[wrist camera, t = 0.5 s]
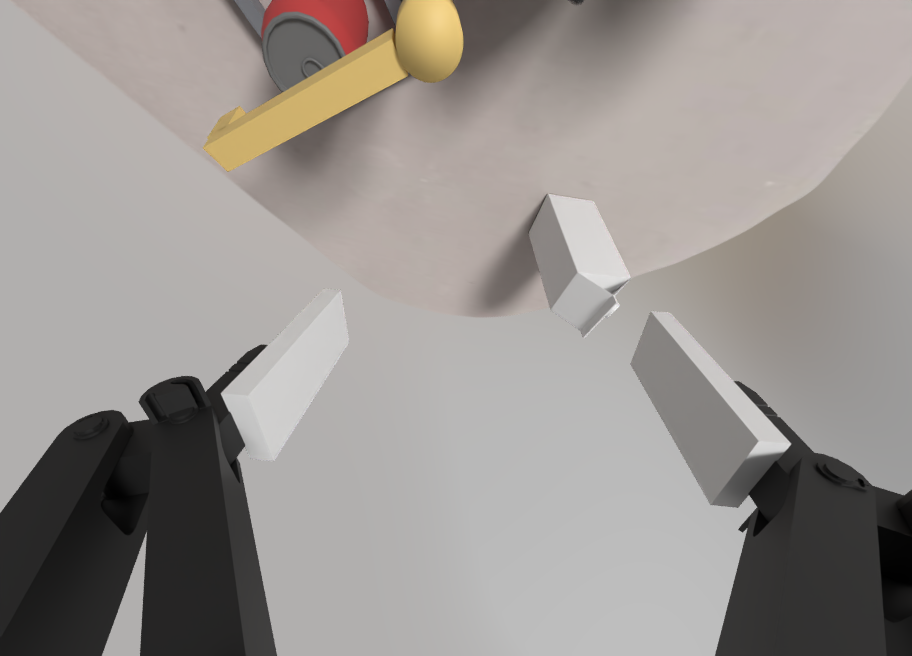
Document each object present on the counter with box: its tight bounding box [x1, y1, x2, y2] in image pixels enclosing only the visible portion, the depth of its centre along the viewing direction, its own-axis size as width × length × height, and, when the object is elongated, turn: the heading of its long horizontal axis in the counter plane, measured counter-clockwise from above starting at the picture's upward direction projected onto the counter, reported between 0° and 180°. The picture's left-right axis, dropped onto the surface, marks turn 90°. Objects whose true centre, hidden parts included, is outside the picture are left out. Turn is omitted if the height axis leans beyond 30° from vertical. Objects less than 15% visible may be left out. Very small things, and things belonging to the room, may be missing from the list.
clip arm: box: [203, 0, 463, 172], centre depth 19 cm, size 16×3×4 cm, turn 112°
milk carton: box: [529, 194, 631, 338], centre depth 45 cm, size 7×7×19 cm
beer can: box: [261, 0, 369, 92], centre depth 26 cm, size 7×7×12 cm
